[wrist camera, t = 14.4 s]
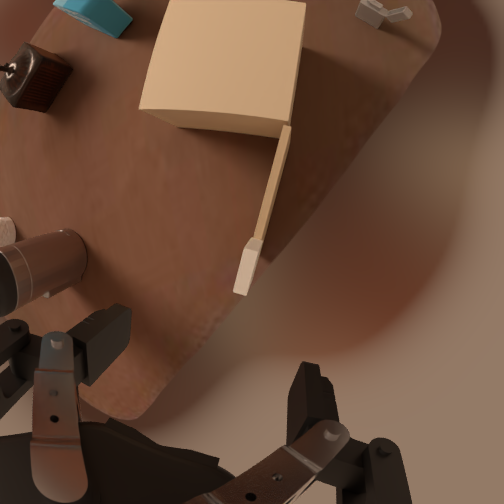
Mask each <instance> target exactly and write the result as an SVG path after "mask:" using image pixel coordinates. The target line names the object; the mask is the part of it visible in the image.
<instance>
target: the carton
mask: <svg viewBox="0 0 504 504" xmlns="http://www.w3.org/2000/svg"><path fill="white" fill-rule="evenodd" d="M305 11H306V3H301V2H294V1H286V0H170V2H169V4H168V7H167V10H166V13H165V16H164V19H163V21H162V24H161V27H160V31H159V34H158V37H157V40H156V43H155V47H154V50H153V54H152V57H151V61H150V65H149V68H148V72H147V76H146V80H145V84H144V88H143V93H142V97H141V102H140V106H139V109H140V110H142V111H144V112H146V113H148V114H151V115H153V116H155V117H157V118H159V119H161V120H163V121H165V122H167V123H169V124H171V125H174V126H176V127H181V128H195V129H207V130H217V131H227V132H235V133H243V134H251V135H258V136H265V137H272V138H278V139H280V136H281V132H282V128H283V125H286V126H290V123H291V116H292V110H293V104H294V97H295V91H296V84H297V78H298V71H299V65H300V58H301V51H302V44H303V33H304V23H305Z"/></svg>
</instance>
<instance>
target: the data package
mask: <svg viewBox="0 0 504 504" xmlns="http://www.w3.org/2000/svg"><path fill="white" fill-rule="evenodd" d="M53 5H54V6H56V7H57V8H59V9H61V10H62V11H64V12H66V13H67V14H69V15H71V16H72V17H74V18H75V19H77V20H79V21H80V22H82V23H83V24H85V25H87V26H89V27H91V28H94V29H96V30H98V31H101V32H103V33H105V34H107V35H110V36H112V37H114V38H118V37H119V36H120V34H121V33H122V32H123V31H124V30H125V28H126V27H127V26H128V25H129V24H130V23H131V21H132V20H133V19H132V17H131V16H130V15H128V14H127V13H126V12H125V11H124V10H123V9H122V8H121V7H120V6H118V5H117V4H116V3H115V2H114V1H113V0H55V2H54V3H53Z"/></svg>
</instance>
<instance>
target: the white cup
mask: <svg viewBox="0 0 504 504" xmlns="http://www.w3.org/2000/svg"><path fill="white" fill-rule="evenodd" d="M15 239H16V229H15V225H14V223H13V221H12V219H11V218H10V217H2V218H0V247H3V246H6V245H9V244H12V243H15Z"/></svg>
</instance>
